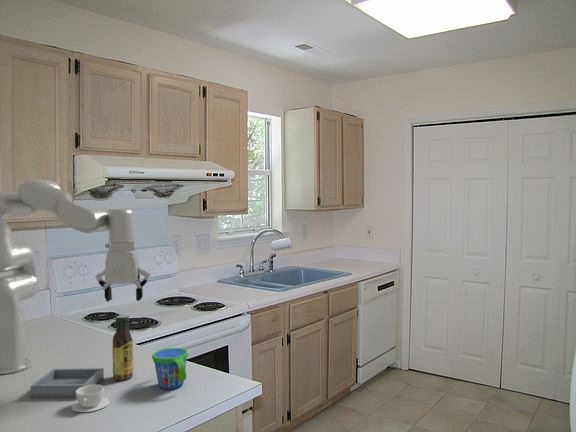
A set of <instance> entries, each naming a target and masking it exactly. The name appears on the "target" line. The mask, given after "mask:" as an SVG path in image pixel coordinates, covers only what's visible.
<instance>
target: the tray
mask: <svg viewBox="0 0 576 432" xmlns="http://www.w3.org/2000/svg"><path fill="white" fill-rule="evenodd" d="M104 373H105V372H104V368H103V367H94V368H89V367H87V368H86V367H85V368H84V367H83V368H79V367H78V368H52V369H51V370H50V371H49V372H46V374H45V375H43V376H42V377H40V378H39V379H38V380H36V381H35V382H33V384H31V385H30V397H31V398H33V399H39V398H40V399H42V398H43V399H46V398H47V399H48V398H77V397H76V390H77V389H79V388H81V387H83V386H87V385H100V383H101V382H102V381H104V379H105V378H104V377H105V376H104Z"/></svg>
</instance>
